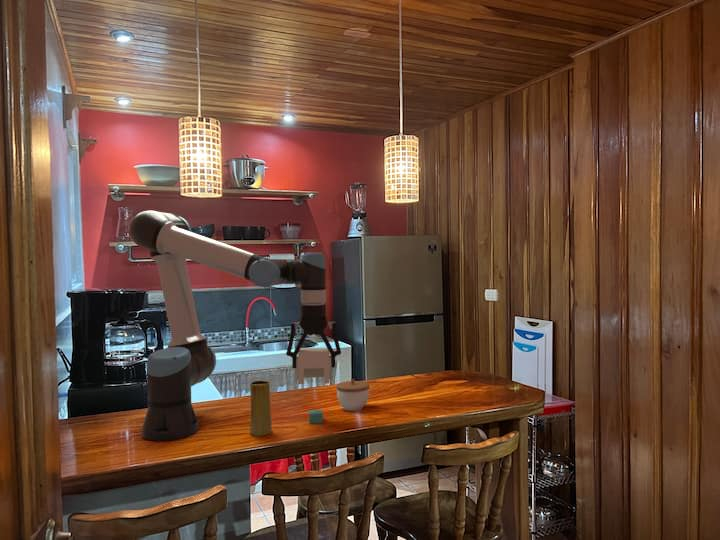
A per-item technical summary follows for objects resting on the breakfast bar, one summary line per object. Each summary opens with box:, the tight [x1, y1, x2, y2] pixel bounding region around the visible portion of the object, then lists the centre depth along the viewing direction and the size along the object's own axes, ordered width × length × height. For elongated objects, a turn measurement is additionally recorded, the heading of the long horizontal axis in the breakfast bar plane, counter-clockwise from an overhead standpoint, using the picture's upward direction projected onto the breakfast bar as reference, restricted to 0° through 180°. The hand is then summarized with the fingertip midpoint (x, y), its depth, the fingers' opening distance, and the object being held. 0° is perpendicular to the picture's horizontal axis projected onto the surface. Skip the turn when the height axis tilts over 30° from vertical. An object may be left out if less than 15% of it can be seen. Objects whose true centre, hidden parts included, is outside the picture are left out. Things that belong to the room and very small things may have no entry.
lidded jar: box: [335, 378, 370, 412], centre depth 168 cm, size 11×11×9 cm
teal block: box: [308, 409, 324, 425], centre depth 155 cm, size 4×4×3 cm
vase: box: [249, 379, 273, 437], centre depth 146 cm, size 6×6×14 cm
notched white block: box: [297, 347, 330, 385], centre depth 155 cm, size 9×9×9 cm
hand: (314, 378), depth 155 cm, fingers closed on notched white block, 9 cm apart
